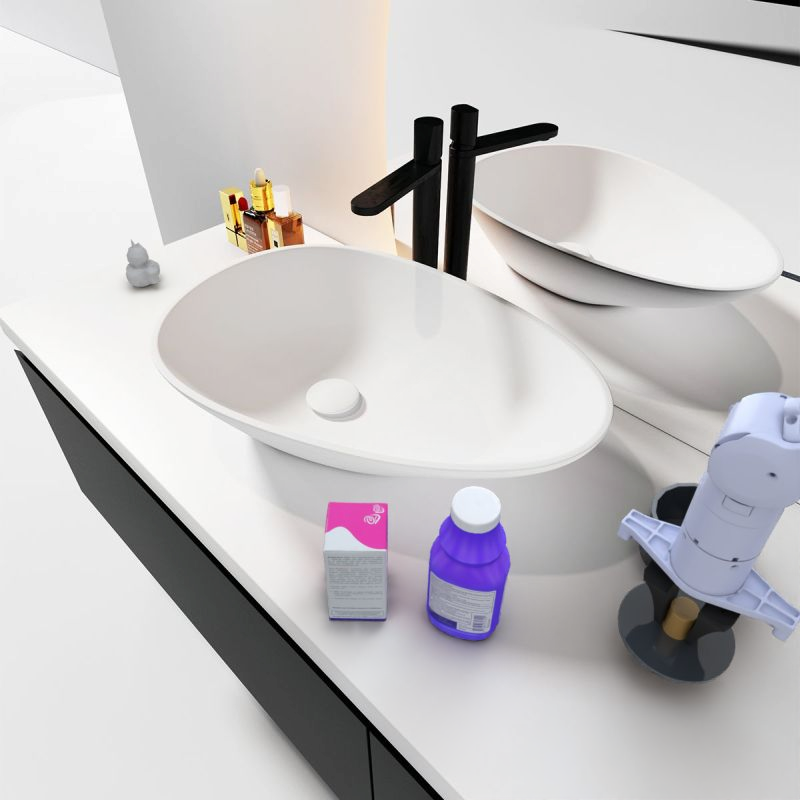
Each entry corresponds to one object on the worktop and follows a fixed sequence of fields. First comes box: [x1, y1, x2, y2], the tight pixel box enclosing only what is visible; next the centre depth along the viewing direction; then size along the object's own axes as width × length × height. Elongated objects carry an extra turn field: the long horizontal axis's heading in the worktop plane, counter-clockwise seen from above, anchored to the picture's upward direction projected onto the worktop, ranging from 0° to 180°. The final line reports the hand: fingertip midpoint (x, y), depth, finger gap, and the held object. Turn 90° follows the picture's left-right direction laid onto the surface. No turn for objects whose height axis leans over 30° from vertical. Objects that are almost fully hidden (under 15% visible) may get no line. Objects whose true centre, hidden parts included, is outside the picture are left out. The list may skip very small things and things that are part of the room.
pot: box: [638, 482, 699, 566], centre depth 72 cm, size 9×9×6 cm
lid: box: [617, 581, 736, 686], centre depth 62 cm, size 10×10×4 cm
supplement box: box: [322, 501, 389, 622], centre depth 66 cm, size 6×6×12 cm
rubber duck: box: [125, 239, 161, 288], centre depth 111 cm, size 5×7×8 cm
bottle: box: [426, 485, 511, 641], centre depth 63 cm, size 7×6×17 cm
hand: (677, 625), depth 62 cm, fingers closed on lid, 2 cm apart
